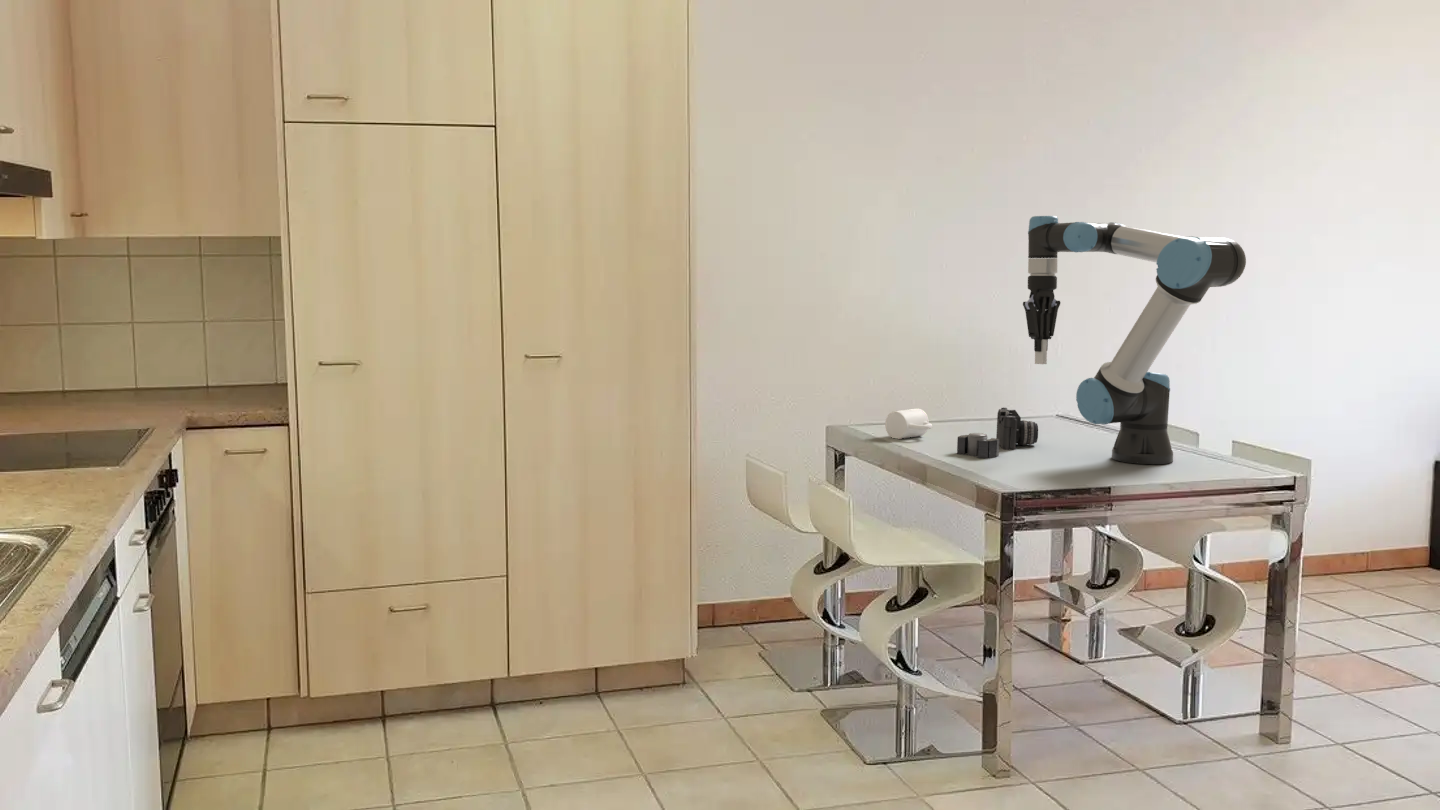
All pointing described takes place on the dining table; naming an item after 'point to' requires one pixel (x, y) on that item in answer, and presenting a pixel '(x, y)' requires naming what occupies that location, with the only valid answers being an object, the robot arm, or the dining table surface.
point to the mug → (907, 423)
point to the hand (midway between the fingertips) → (1040, 363)
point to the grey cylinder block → (974, 442)
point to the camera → (1014, 430)
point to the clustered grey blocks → (979, 447)
